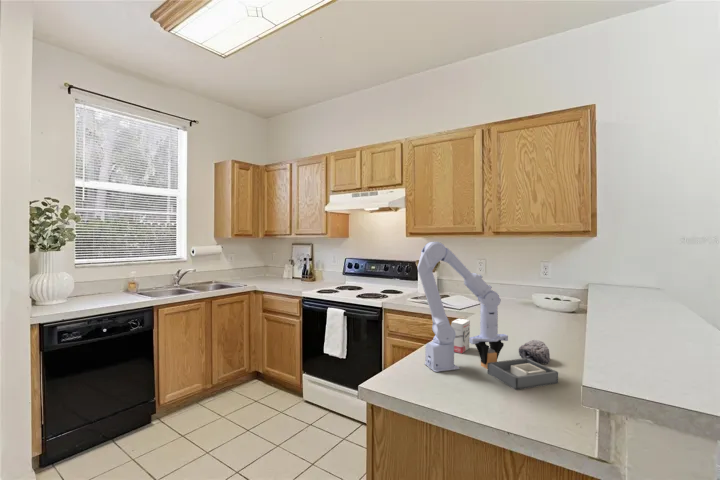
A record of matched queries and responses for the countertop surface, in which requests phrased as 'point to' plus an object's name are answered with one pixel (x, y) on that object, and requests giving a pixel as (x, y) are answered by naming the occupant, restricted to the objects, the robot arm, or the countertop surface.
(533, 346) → the pumice stone
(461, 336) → the ink box
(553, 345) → the countertop surface
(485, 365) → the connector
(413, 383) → the countertop surface
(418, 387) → the countertop surface
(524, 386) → the walled box
